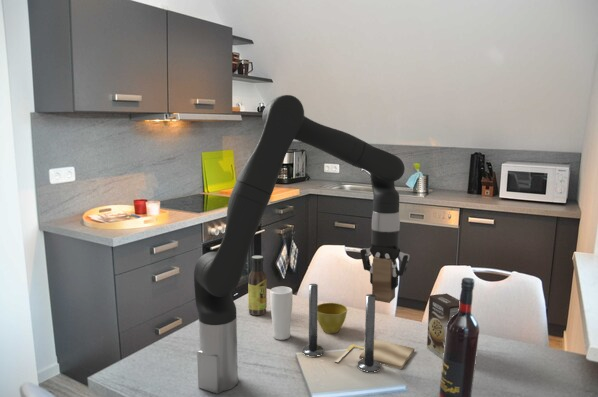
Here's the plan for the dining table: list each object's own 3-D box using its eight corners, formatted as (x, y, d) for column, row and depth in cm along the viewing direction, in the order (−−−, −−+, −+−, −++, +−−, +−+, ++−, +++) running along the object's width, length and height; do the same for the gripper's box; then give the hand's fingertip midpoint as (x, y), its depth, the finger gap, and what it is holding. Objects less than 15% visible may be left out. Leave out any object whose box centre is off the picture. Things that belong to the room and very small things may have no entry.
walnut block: (389, 303, 130) (390, 260, 129) (372, 299, 133) (372, 258, 131) (395, 297, 135) (396, 256, 133) (378, 294, 137) (379, 253, 135)
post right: (375, 374, 124) (377, 301, 121) (354, 368, 127) (355, 297, 124) (383, 364, 130) (385, 294, 126) (362, 359, 132) (364, 290, 129)
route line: (351, 367, 128) (351, 366, 128) (334, 362, 131) (334, 361, 131) (367, 349, 139) (367, 348, 138) (351, 345, 141) (352, 344, 141)
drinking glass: (293, 332, 149) (293, 286, 147) (291, 342, 143) (291, 294, 140) (272, 331, 150) (271, 285, 148) (268, 341, 143) (268, 293, 141)
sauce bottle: (262, 317, 161) (262, 260, 158) (245, 315, 163) (244, 258, 160) (269, 310, 167) (268, 255, 164) (252, 308, 169) (251, 253, 166)
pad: (401, 369, 127) (401, 366, 127) (359, 358, 133) (359, 355, 133) (414, 350, 137) (414, 348, 137) (374, 341, 143) (374, 339, 143)
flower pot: (319, 321, 158) (319, 301, 156) (349, 325, 155) (349, 304, 154) (311, 334, 148) (311, 312, 147) (343, 338, 145) (343, 316, 144)
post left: (317, 359, 133) (318, 290, 129) (298, 353, 136) (298, 286, 132) (327, 350, 138) (327, 283, 135) (308, 345, 141) (309, 280, 138)
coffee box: (425, 348, 139) (428, 295, 137) (444, 344, 141) (446, 292, 139) (445, 362, 131) (448, 306, 128) (464, 358, 133) (468, 303, 131)
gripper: (355, 227, 131) (354, 287, 133) (407, 233, 124) (405, 295, 127) (365, 222, 137) (364, 279, 140) (415, 227, 130) (413, 287, 133)
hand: (384, 286), depth 133 cm, fingers closed on walnut block, 5 cm apart
